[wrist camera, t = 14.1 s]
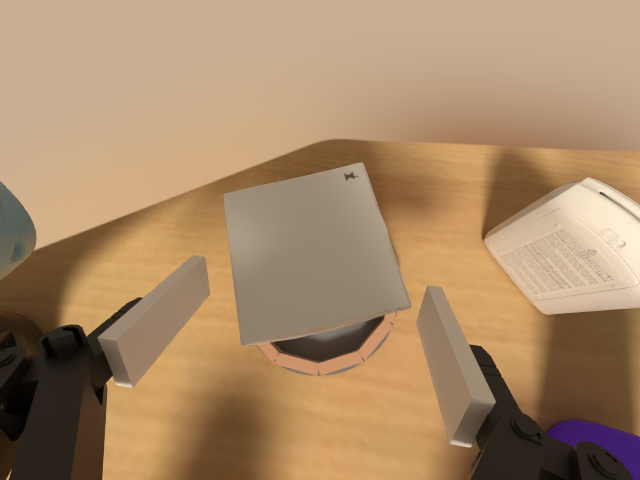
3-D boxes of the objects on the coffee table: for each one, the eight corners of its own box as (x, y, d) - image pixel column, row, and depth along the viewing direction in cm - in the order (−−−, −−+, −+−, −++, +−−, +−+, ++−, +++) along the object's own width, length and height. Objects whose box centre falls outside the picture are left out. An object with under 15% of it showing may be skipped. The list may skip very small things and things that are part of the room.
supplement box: (272, 256, 30) (217, 187, 16) (350, 239, 30) (365, 155, 16) (287, 342, 27) (235, 350, 13) (373, 321, 27) (417, 307, 13)
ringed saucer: (219, 349, 28) (206, 351, 25) (267, 204, 33) (261, 193, 30) (383, 395, 26) (389, 402, 23) (407, 232, 31) (414, 223, 28)
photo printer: (574, 300, 28) (751, 276, 16) (543, 322, 27) (701, 313, 15) (504, 221, 31) (608, 153, 19) (474, 239, 30) (562, 180, 19)
